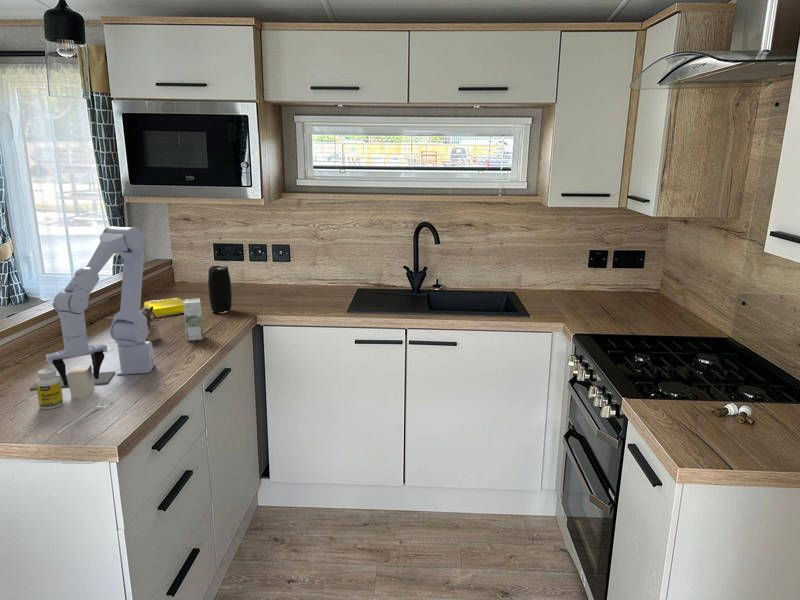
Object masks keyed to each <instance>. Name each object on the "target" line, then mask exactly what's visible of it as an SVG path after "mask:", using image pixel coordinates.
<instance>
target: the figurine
mask: <svg viewBox="0 0 800 600" xmlns="http://www.w3.org/2000/svg"><path fill="white" fill-rule="evenodd" d="M153 308H154V307H152V306H151V308H150V309H148V308H146V307H145V308H144V307H143V308H142V309H140V312H141V313H142V314H143V315H144V316H145V317H146V318H147V326H148V336H147V338H146V340H145V341H153V342H156V341H158V340H160V338H161V336H160V335H161V334H160V328H159V326H158V324H157V322H156V321H157V320H156V315H155V313H154V312H152V310H153ZM151 315H153V318H152V317H150V316H151ZM155 340H156V341H155Z"/></svg>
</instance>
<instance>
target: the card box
mask: <svg viewBox="0 0 800 600" xmlns="http://www.w3.org/2000/svg"><path fill="white" fill-rule="evenodd" d="M67 375H68V379H69V386H70V387H69V392H70V393H69V394H70V397H71V398H73V399H84V398H83V397H85V398H88V397H89V396H90V395H91V393H92V392H93V390H94V389H95V385H94V380H93V365H92V364H84V365H83V364H81V365H75V366H74V367H73V369H71V370H70V371H69V372H68V373H67ZM91 391H92V392H91ZM71 398H70V399H71Z"/></svg>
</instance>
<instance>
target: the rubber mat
mask: <svg viewBox="0 0 800 600" xmlns="http://www.w3.org/2000/svg"><path fill="white" fill-rule="evenodd" d="M114 375H116V370H115V371H104V372H99V379H95V378H94V374H93V380H94V386H98V385H99V386H100V385H108V384H110V382H111V380H112V378H113V377H114ZM56 376H57V377H59V378H60V383H61V389H62V388H70V386H69V379H68V374H66V377H67V382H68V386H64V384H63V381H62V378H61V376H60V375H56ZM29 389H30V391H37V387H36V382H35V383H34V384H33V385H32V386H31V387H30V388H29Z"/></svg>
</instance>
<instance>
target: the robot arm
mask: <svg viewBox="0 0 800 600" xmlns="http://www.w3.org/2000/svg"><path fill="white" fill-rule="evenodd" d="M99 240H100V242H99V244H98V246H97V247H96V249H95V251H94V252H93V254H92V256H91V257H90V259H89V261H88V262H87V265H86V266H85V267H81V268H79V269H78V270H76V271H75V272H74V275H73V277H72V279H71V280H70V282H69V283H68V284H67V285H66V287H65V288H64V290H61V291H59V292H58V293H57V294H56V295H55V296H54V298H53V302H52V304H51V305H52V307H53V309H54V310H55V311H56V312H57V315H58V316H57V317H59V319H60V326H61V332H62V338H63V339H62V340H63V348H64V349H63V350H60V351H59V350H58V351H56V352H52V353H48V354H47V353H46V354H45V358H46V362H47V364H50V363H51V364H52V365H53V366H54V369H55V370H56V372H58V374H59V376H61V378H62V381H63V384H64V386H68V382H67V377H66V375H67V371H66V370H67V369H66V363H65V362H64V361H65V360H67V359H73V358H78V357H83V356H89V355H90V358H91V363H92V373H93V374H94V378H95V379H99V373H100V370H101V366H102V363H103V361H104V359H105V354H104V353H107V352H108V346H107V344H106V343H102V344H93V345H92V344H91V345H89V340H88V332H87V325H86V317H85V316H86V315H85V311H86V310H87V308H88V307H89V299H90V294H91V293H92V292H93V290H94V289H95V287H96V285H97V284H98V283H99V281H100V275H99V273H100V272H101V271H102V269H103V268H104V266H105V265H106V264H107V263H108V262H109V261H110V259H111V258H112V257H113V256H114V254H118V255H119V256H120V257H121V258H122V259H123V268H122V281H121V293H120V294H121V296H120V306H119V307H120V308H119V311H118V312H116V314H114V316H113V317H112V323H111V325H110V328H109V334H110V337H111V338H112V340H114V342H115V344H117V350H118V351H117V352H118V358H119V359H118V360H119V366H120V367H119V370H118V371H117V373H116V375H117V376H120V375H131V374H132V375H134V374H147V373H151V372H152V370H153V368H154V366H155V365H156V364H155V358H154V357H155V356H154V349H153V348H154V347H153V343H152V342H151V341H145V340H146V338H147V336H148V326H147V318H146V317H145V316H144V315H143V314H142V313H141V312H140V311H141V302H142V288H143V275H144V273H143V272H144V259H145V252H144V246H145V235H144V234H143V232H142V231H141V230H140V229H139V228H137V227H135V226H132V227H128V226H127V227H125V226H123V227H122V226H111V225H109V226H106V227H105V228H104V229H103V232H101V234H100V235H99Z"/></svg>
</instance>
